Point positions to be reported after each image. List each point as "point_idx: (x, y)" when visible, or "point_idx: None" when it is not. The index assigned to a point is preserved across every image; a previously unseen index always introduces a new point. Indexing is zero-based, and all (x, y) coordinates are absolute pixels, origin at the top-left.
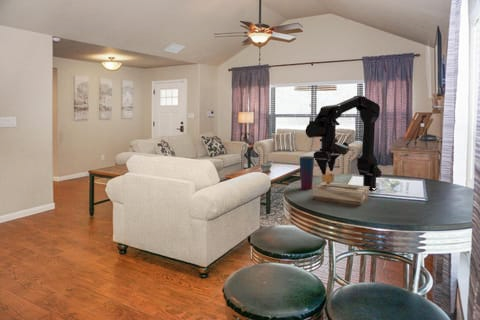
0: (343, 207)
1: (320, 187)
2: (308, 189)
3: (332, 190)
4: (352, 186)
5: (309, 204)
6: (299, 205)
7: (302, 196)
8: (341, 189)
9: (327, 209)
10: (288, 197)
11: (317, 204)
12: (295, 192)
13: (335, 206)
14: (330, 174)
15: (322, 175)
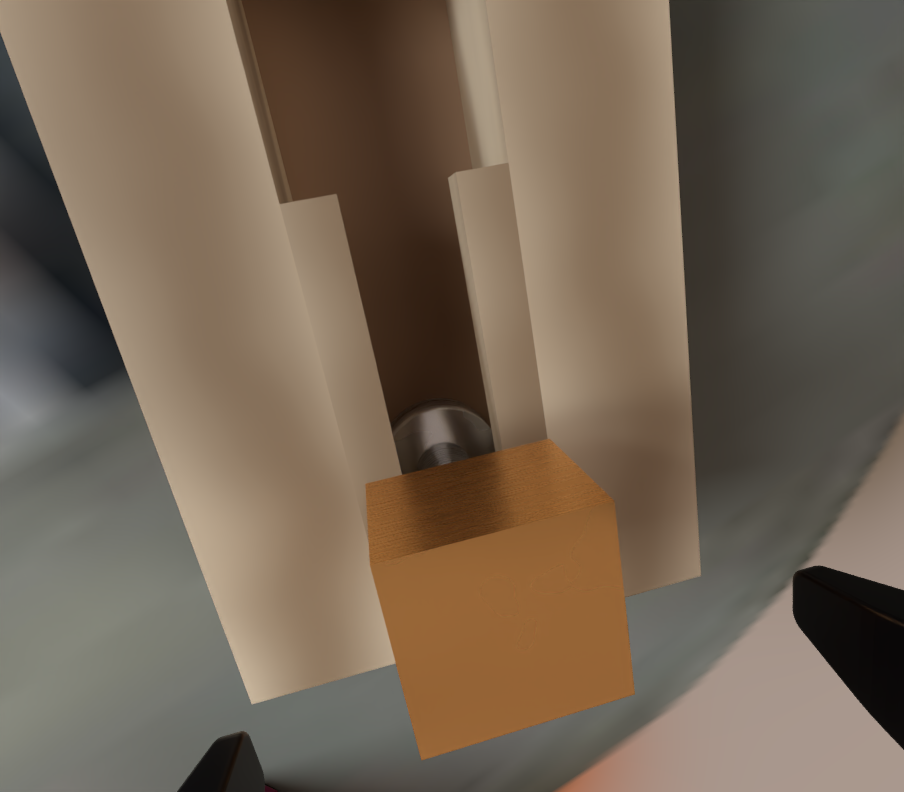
0: (748, 36)
1: (632, 513)
2: (267, 786)
3: (679, 287)
4: (209, 118)
5: (808, 408)
6: (877, 456)
7: None
8: (579, 179)
9: (894, 157)
10: (681, 695)
11: (772, 347)
12: (474, 780)
13: (753, 142)
14: (503, 586)
15: (624, 673)
